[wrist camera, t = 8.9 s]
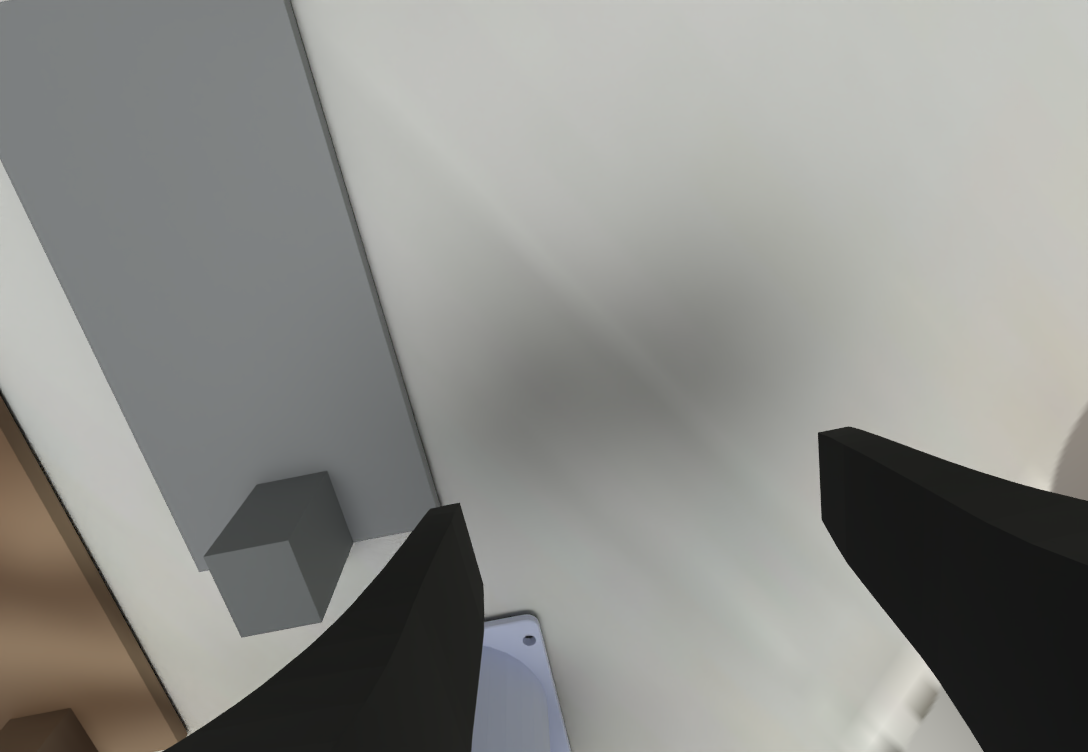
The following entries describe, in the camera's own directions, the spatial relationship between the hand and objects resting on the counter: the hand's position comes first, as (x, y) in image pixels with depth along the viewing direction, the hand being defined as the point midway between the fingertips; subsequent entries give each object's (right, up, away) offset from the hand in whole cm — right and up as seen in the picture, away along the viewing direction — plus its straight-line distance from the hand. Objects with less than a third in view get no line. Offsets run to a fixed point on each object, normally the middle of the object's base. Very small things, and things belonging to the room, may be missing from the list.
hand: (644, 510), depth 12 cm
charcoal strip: (-12, +5, +8) cm, 15 cm away
